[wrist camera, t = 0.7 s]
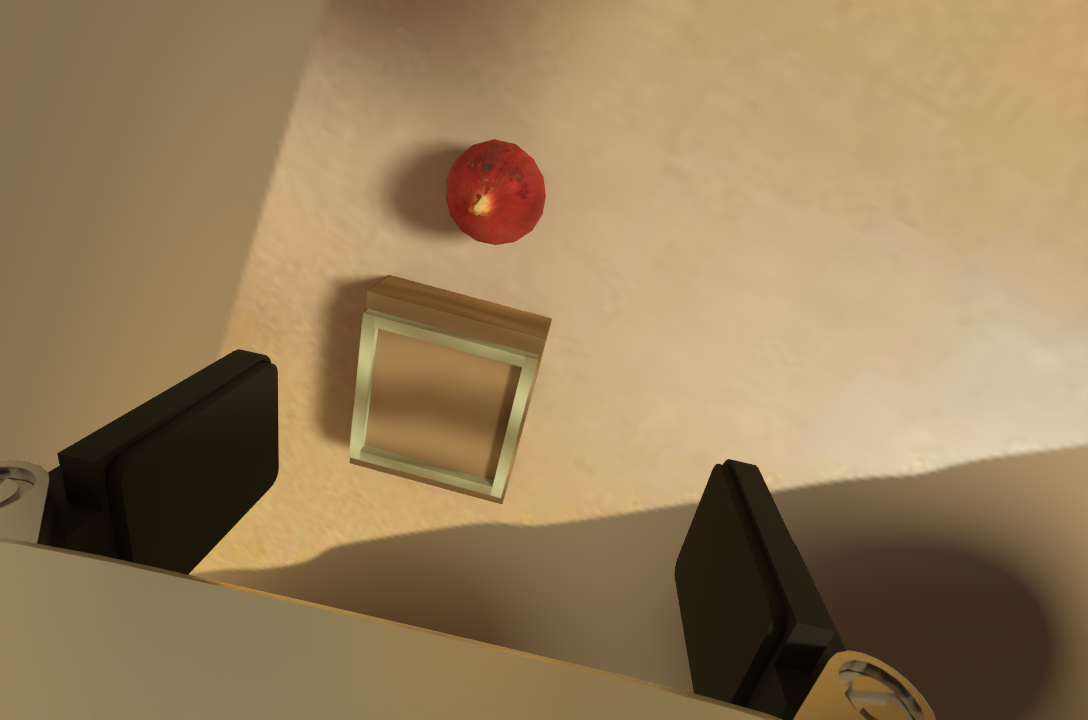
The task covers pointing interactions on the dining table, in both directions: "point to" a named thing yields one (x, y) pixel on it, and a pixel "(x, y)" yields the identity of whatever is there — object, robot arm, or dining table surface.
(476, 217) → the onion
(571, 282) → the dining table surface
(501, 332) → the plinth
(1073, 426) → the dining table surface
